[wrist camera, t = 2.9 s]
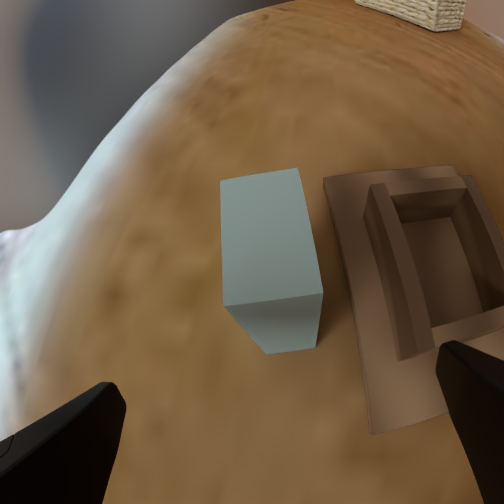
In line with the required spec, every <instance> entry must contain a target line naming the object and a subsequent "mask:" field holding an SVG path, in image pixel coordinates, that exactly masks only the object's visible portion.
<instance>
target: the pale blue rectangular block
mask: <svg viewBox="0 0 504 504" xmlns="http://www.w3.org/2000/svg"><path fill="white" fill-rule="evenodd" d="M220 190H221V243H222V277H223V303H224V307H225V308H226V309H227V311H228V312H229V313H230V314H231V315H232V316H233V318H234V319H235V320H236V321H237V322H238V323H239V324H240V326H241V327H242V328H243V329H244V330H245V331H246V332H247V333H248V335H249V336H250V337H251V338H252V339H253V340H254V341H255V342H256V343H257V345H258V346H259V347H260V348H261V349H262V350H263V351H264V352H265V353H266V354H274V353H282V352H290V351H298V350H305V349H312V348H315V346H316V340H317V334H318V327H319V321H320V314H321V307H322V300H323V287H322V282H321V276H320V271H319V265H318V260H317V255H316V250H315V244H314V239H313V235H312V230H311V225H310V220H309V215H308V211H307V206H306V202H305V197H304V193H303V188H302V184H301V180H300V175H299V171H298V168H293V169H287V170H280V171H274V172H267V173H261V174H255V175H249V176H244V177H238V178H233V179H227V180H222V181H220Z"/></svg>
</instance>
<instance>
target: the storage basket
mask: <svg viewBox="0 0 504 504" xmlns="http://www.w3.org/2000/svg"><path fill="white" fill-rule="evenodd" d="M355 3H356V4H359V5H362V6H364V7H369V8H372V9H375V10H378V11H380V12H383V13H388V14H390V15H394V16H396V17H398V18H400V19H403V20H406V21H409V22H412V23H414V24H417V25H420V26H421V27H425V28H427V29H429V30H432V31H435V32H438V31H447V30H448V31H451V30H456V29H460V28H461V24H462V20H463V16H464V12H465V7H466V5H465V4H466V0H355Z"/></svg>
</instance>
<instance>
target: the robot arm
mask: <svg viewBox="0 0 504 504" xmlns="http://www.w3.org/2000/svg"><path fill="white" fill-rule="evenodd" d="M436 376H437V379H438V381H439V384H440V387H441V390H442V393H443V396H444V399H445V402H446V405H447V408H448V411H449V414H450V417H451V419H452V422H453V424H454V427H455V429H456V431H457V433H458V436H459V438H460V440H461V443H462V445H463V448H464V450H465V453H466V455H467V458H468V460H469V463H470V465H471V468H472V470H473V473H474V476H475V479H476V481H477V484H478V487H479V490H480V493H481V496H482V499H483V502H484V504H504V360H501V359H499V358H497V357H494V356H492V355H490V354H487V353H485V352H482V351H480V350H478V349H475V348H473V347H470V346H468V345H466V344H463V343H461V342H458V341H456V340H451V341H448V342H445V343H442V344H441V345H440V348H439V352H438V358H437V363H436ZM125 414H126V403H125V400H124V399H123V397H122V395H121V393H120V391H119V390H118V388H117V386H116V385H115V384H114V383H112V382H100V383H99V384H97V385H95V386H94V387H92V388H90V389H89V390H87V391H86V392H84V393H82V394H81V395H79V396H77V397H76V398H74V399H72V400H71V401H69V402H68V403H66V404H64V405H63V406H61V407H59V408H58V409H56V410H54V411H53V412H51V413H49V414H47V415H46V416H44V417H42V418H41V419H39V420H37V421H36V422H34V423H32V424H30V425H29V426H27V427H25V428H24V429H22V430H20V431H18V432H17V433H15V435H14V434H13V435H11V436H10V437H8V438H6V439H4V440H2V441H1V442H0V504H102V503H103V499H104V495H105V492H106V488H107V485H108V481H109V478H110V475H111V471H112V468H113V465H114V461H115V458H116V455H117V451H118V447H119V442H120V437H121V432H122V428H123V423H124V418H125Z"/></svg>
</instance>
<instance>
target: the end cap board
mask: <svg viewBox="0 0 504 504" xmlns="http://www.w3.org/2000/svg"><path fill="white" fill-rule="evenodd" d="M323 187H324V191H325V194H326V198H327V201H328V205H329V209H330V213H331V217H332V220H333V224H334V228H335V232H336V236H337V241H338V245H339V249H340V253H341V258H342V262H343V267H344V271H345V276H346V280H347V285H348V290H349V295H350V300H351V305H352V310H353V316H354V321H355V327H356V333H357V339H358V345H359V351H360V357H361V364H362V371H363V378H364V386H365V394H366V402H367V411H368V421H369V432H370V433H371V434H378V433H382V432H386V431H390V430H394V429H397V428H401V427H404V426H408V425H411V424H415V423H418V422H421V421H424V420H427V419H430V418H433V417H436V416H439V415H442V414H445V413H447V412H449V411H448V408H447V405H446V402H445V399H444V396H443V393H442V390H441V387H440V384H439V381H438V379H437V376H436V363H437V358H438V352H439V348H440V345H441V344H442V343H445V342H448V341H451V340H456V341H458V342H461V343H463V344H466V345H468V346H470V347H473V348H475V349H478V350H480V351H482V352H485V353H487V354H490V355H492V356H494V357H497V358H499V359H501V360H504V242H503V240H502V237H501V235H500V232H499V230H498V228H497V226H496V223H495V221H494V219H493V217H492V215H491V213H490V211H489V209H488V207H487V204H486V203H485V201H484V199H483V197H482V195H481V193H480V191H479V189H478V187H477V185H476V184H475V182H474V180H473V178H472V176H471V175H468V176H459V175H458V173H457V171H456V170H455V168H454V166H453V165H452V166H435V167H421V168H408V169H396V170H385V171H375V172H366V173H357V174H348V175H340V176H332V177H324V178H323Z"/></svg>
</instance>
